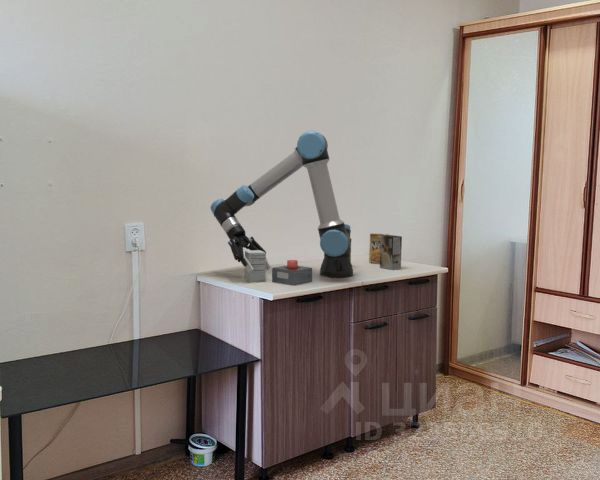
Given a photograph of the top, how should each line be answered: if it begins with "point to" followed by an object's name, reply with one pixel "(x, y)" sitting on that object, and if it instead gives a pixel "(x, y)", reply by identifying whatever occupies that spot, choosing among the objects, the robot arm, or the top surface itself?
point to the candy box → (375, 247)
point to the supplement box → (256, 266)
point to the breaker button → (292, 264)
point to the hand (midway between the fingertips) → (260, 269)
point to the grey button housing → (292, 275)
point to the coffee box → (390, 251)
